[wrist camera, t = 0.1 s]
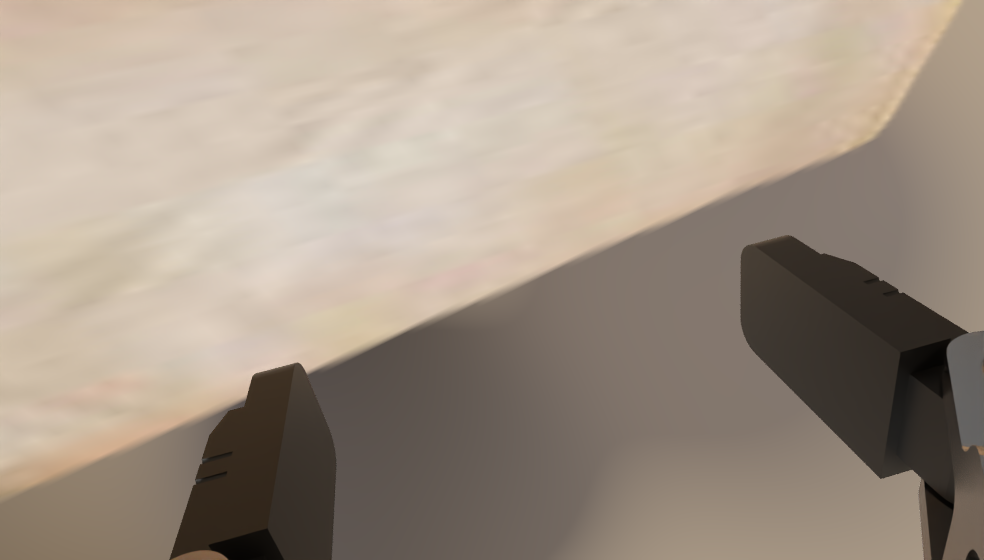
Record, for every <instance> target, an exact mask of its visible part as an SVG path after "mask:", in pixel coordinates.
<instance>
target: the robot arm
mask: <svg viewBox="0 0 984 560" xmlns="http://www.w3.org/2000/svg"><path fill="white" fill-rule="evenodd" d="M741 325H742V330H743V333H744V336H745V338H746V340H747V343H748V344H749V346H750V347H751V349H752V350H753V351H754V352H755V353H756V355H758V357H760V359H761V360H763V361H764V363H766V364H767V366H768V367H769V368H770V369H771V370H773V372H774V373H776V374H777V376H778V377H779V378H780V379H782V380H783V382H784V383H785V384H787V386H788V387H789V388H790V389H792V390H793V391H794V393H795V394H796V395H797V396H798V397H800V399H801V400H802V401H804V403H805V404H806V405H808V407H809V408H810V409H811V410H812V411H814V413H816V415H818V417H819V418H821V420H823V422H824V423H825V424H826V425H828V427H830V429H831V430H832V431H833V432H834V433H835V434H836V435H837V436H838V437H839V438H841V439H842V441H844V443H845V444H847V445H848V447H849V448H851V450H852V451H854V452H855V454H856V455H857V456H858V457H859V458H860V459H861V460H862V461H864V463H866V465H867V466H869V467H870V468H871V470H872V471H873V472H874V473H875V474H876V475H877V476H879V478H880V479H881V478H885V477H889V476H892V475H895V474H899V473H902V472H905V471H909V470H914V472H916V473H917V474H918V475H919V476H920V477H921V482H920V487H919V494H918V495H919V509H920V521H921V531H922V544H923V555H924V560H984V331H978V332H972V333H968V332H967V331H965V330H963V329H962V328H960V327H958V326H957V325H955V324H954V323H952V322H950V321H949V320H947V319H946V318H944V317H942V316H940V315H939V314H937V313H936V312H934V311H932V310H931V309H929V308H928V307H926V306H924V305H923V304H921V303H919V302H918V301H916V300H915V299H913V298H911V297H910V296H908V295H906V294H905V293H899V292H898V289H897V288H895V287H893V286H892V285H890V284H889V283H887V282H885V281H884V280H883V281H879V278H878V277H877V276H875V275H874V274H872V273H871V272H869V271H867V270H866V269H864V268H863V267H861V266H859V265H858V264H856V263H854V262H850V261H847V260H844V259H840V258H837V257H834V256H831V255H827V254H819V253H818V252H816V251H815V250H813V249H811V248H810V247H808V246H807V245H805V244H804V243H802V242H800V241H799V240H797V239H796V238H794V237H792V236H789V235H785V236H781V237H777V238H774V239H770V240H766V241H763V242H759V243H755V244H751V245H748V246H746V247H745V248H744V249H743V251H742V254H741ZM195 481H196V485H194V486H193V488H192V491H191V495H190V498H189V501H188V504H187V507H186V510H185V513H184V516H183V519H182V523H181V525H180V529H179V532H178V535H177V538H176V541H175V544H174V547H173V550H172V553H171V557H170V560H332V542H333V523H334V501H335V483H336V453H335V447H334V443H333V439H332V435H331V432H330V429H329V427H328V424H327V422H326V419H325V417H324V415H323V412H322V410H321V408H320V405H319V403H318V400H317V398H316V395H315V393H314V391H313V388H312V386H311V384H310V381H309V379H308V376H307V374H306V372H305V370H304V368H303V367H302V365H301V364H300V363H294V364H290V365H286V366H283V367H279V368H275V369H271V370H267V371H264V372H260V373H256V374H254V375H253V377H252V380H251V384H250V387H249V391H248V395H247V399H246V403H245V406H244V407H242V408H238V409H234V410H230V411H228V413H227V414H226V415H225V416H224V418H223V419H222V420H221V422H220V423H219V424H218V425H217V426H216V428H215V429H214V430H213V431H212V433H211V434H210V435H209V438H208V442H207V445H206V448H205V451H204V454H203V457H202V464H200V466H199V470H198V473H197V476H196V479H195Z"/></svg>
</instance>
